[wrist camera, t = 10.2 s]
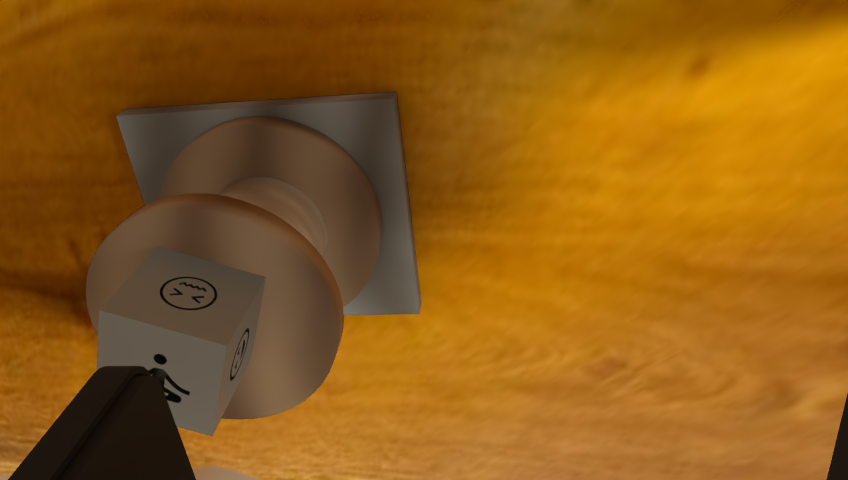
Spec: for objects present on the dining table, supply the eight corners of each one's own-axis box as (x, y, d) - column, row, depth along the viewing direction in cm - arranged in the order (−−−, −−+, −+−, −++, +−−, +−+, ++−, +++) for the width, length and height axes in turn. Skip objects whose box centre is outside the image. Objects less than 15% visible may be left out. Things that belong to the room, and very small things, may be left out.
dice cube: (149, 332, 33) (95, 404, 29) (156, 245, 31) (99, 310, 26) (250, 360, 34) (212, 436, 29) (266, 276, 31) (227, 345, 27)
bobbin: (396, 91, 38) (356, 178, 28) (421, 303, 45) (396, 434, 35) (126, 109, 41) (-2, 194, 30) (187, 308, 47) (100, 433, 37)
